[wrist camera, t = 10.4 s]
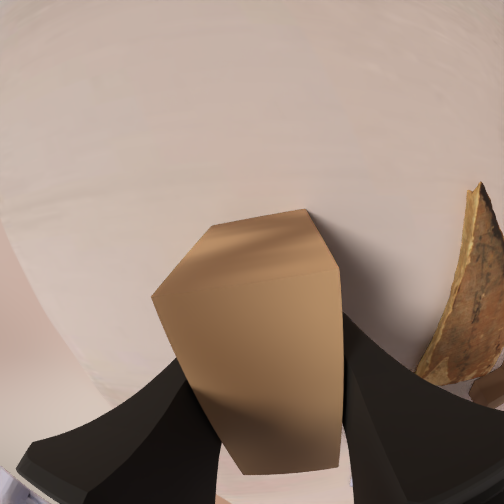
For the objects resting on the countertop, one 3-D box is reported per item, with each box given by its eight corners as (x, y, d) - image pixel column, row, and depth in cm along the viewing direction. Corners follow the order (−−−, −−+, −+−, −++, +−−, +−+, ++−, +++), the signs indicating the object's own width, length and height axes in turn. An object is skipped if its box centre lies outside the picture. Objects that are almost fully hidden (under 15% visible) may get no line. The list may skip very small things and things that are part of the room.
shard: (461, 176, 9) (485, 182, 7) (537, 205, 8) (556, 213, 7) (403, 371, 13) (413, 393, 11) (485, 358, 12) (496, 373, 10)
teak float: (305, 208, 10) (339, 268, 4) (323, 371, 12) (338, 467, 7) (211, 226, 10) (151, 297, 5) (254, 380, 13) (243, 474, 7)
